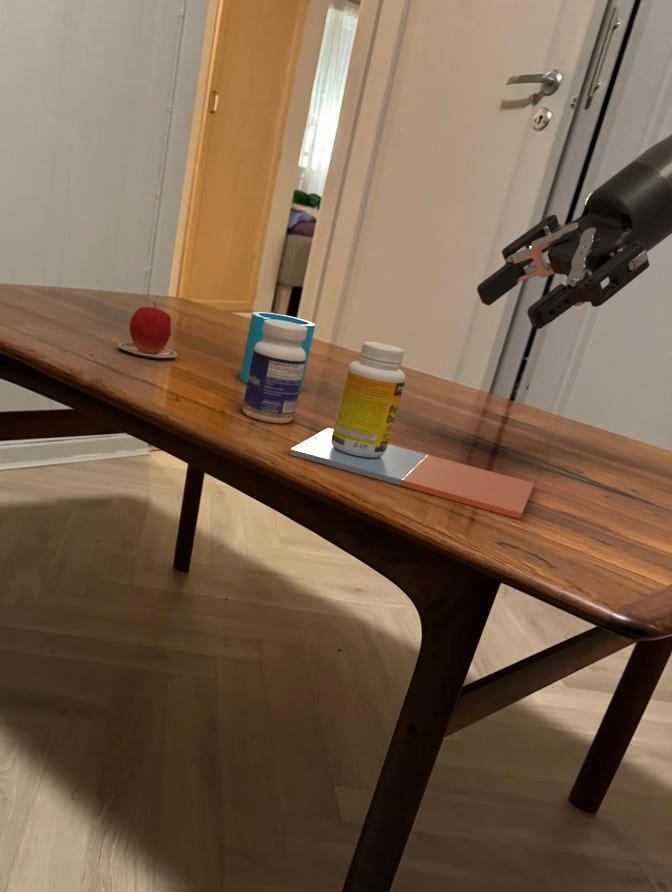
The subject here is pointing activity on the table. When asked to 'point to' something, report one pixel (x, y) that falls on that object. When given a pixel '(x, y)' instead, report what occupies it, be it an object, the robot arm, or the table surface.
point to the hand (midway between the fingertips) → (505, 308)
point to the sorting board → (425, 475)
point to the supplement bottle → (369, 401)
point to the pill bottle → (276, 372)
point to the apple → (149, 333)
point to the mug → (257, 335)
